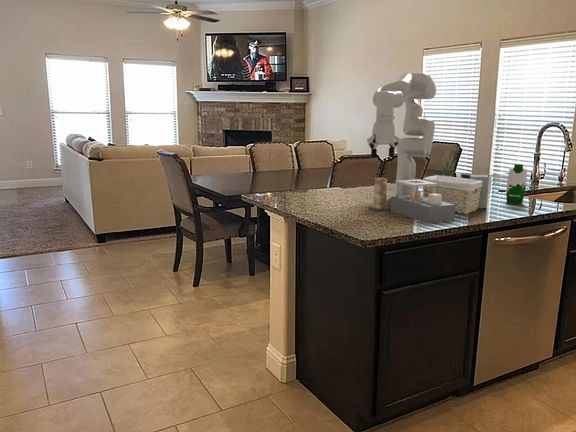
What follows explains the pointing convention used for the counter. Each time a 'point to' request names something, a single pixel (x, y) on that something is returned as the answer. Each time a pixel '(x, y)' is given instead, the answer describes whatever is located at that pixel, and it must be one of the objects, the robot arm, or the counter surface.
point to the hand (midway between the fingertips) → (382, 157)
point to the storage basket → (456, 191)
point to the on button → (434, 199)
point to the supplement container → (467, 175)
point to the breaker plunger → (417, 196)
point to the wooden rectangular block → (380, 193)
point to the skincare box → (482, 189)
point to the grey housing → (420, 204)
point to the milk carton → (516, 184)
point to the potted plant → (448, 166)
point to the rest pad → (378, 209)
